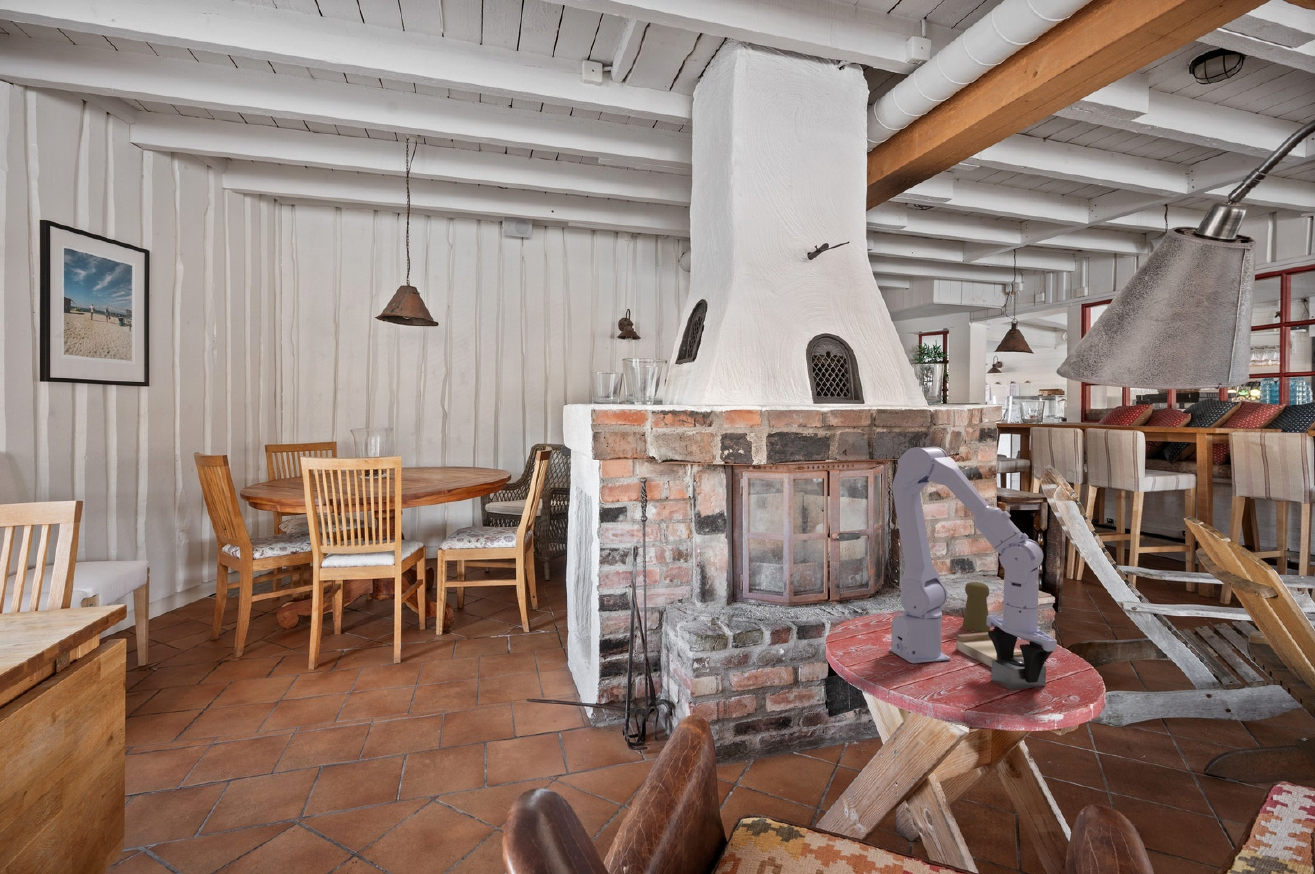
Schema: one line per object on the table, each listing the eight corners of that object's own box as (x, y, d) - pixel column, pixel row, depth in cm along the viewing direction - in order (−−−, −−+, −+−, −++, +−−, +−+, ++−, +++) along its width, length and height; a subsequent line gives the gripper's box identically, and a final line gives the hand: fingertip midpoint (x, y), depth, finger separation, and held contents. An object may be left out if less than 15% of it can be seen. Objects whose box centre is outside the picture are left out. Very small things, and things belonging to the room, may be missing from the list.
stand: (1038, 668, 125) (1038, 652, 125) (1000, 672, 123) (1001, 656, 123) (991, 646, 137) (991, 631, 137) (956, 649, 135) (956, 634, 135)
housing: (1010, 690, 115) (1011, 668, 114) (991, 680, 119) (991, 658, 119) (1045, 686, 117) (1046, 664, 116) (1025, 676, 121) (1025, 655, 121)
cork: (995, 632, 146) (996, 586, 145) (969, 632, 146) (970, 586, 145) (982, 624, 152) (983, 579, 151) (957, 623, 152) (958, 579, 151)
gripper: (1071, 614, 111) (1069, 689, 112) (1007, 592, 125) (1006, 658, 126) (1039, 617, 110) (1037, 692, 110) (978, 594, 124) (976, 661, 124)
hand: (1018, 675), depth 118 cm, fingers open, 5 cm apart
